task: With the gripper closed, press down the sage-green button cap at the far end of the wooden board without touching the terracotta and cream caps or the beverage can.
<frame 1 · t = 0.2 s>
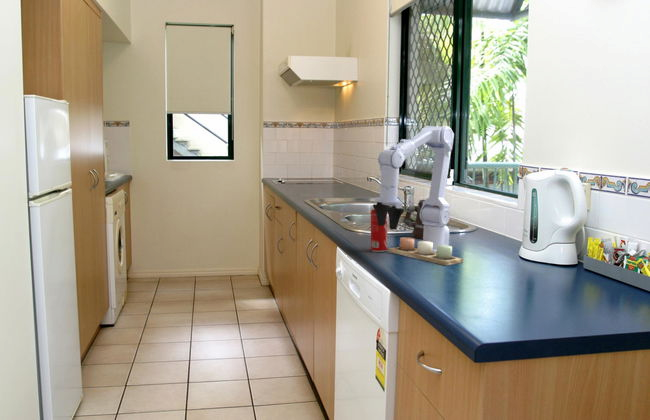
hand: (387, 227, 204), 10 cm above the worktop, fingers open, 7 cm apart
beverage can: (377, 251, 215), on the worktop
wooden board: (424, 256, 207), on the worktop
button cream: (425, 247, 207), point 3 cm above the worktop, slide at 0.0 cm
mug: (422, 237, 247), on the worktop
button terracotta: (407, 243, 213), point 3 cm above the worktop, slide at 0.0 cm
button sage: (444, 251, 201), point 3 cm above the worktop, slide at 0.0 cm
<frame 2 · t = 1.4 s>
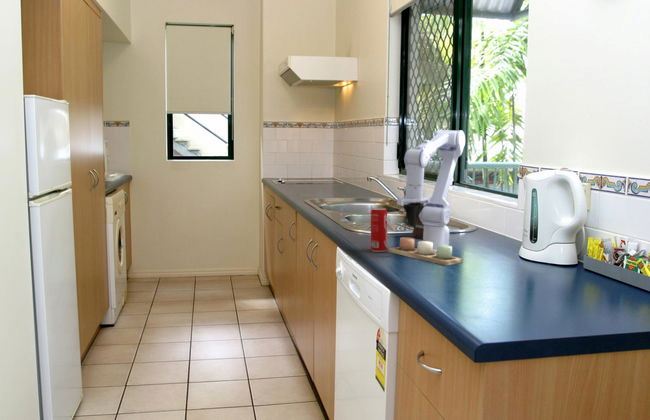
hand: (412, 225, 208), 10 cm above the worktop, fingers closed
nothing on the worktop moved.
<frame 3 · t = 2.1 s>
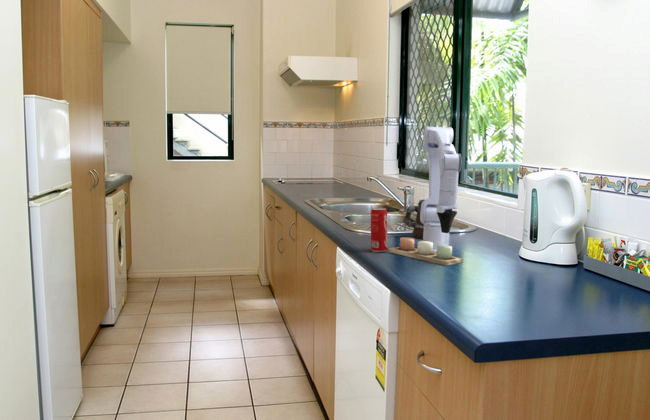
hand: (445, 232, 200), 10 cm above the worktop, fingers closed
nothing on the worktop moved.
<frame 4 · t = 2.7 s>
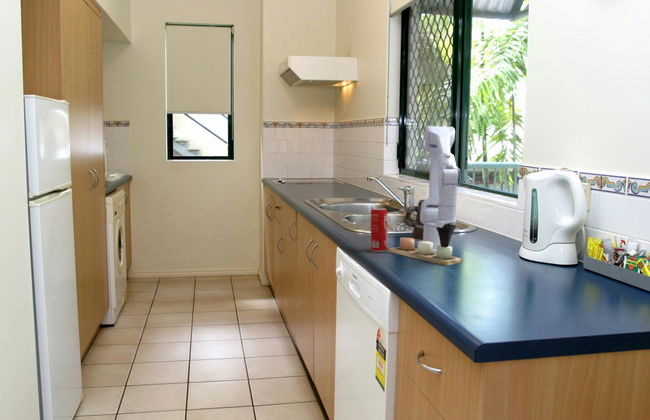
hand: (444, 246, 201), 5 cm above the worktop, fingers closed, pressing on button sage
button sage: (444, 252, 201), point 3 cm above the worktop, slide at 0.2 cm, touching gripper
everything else where it was.
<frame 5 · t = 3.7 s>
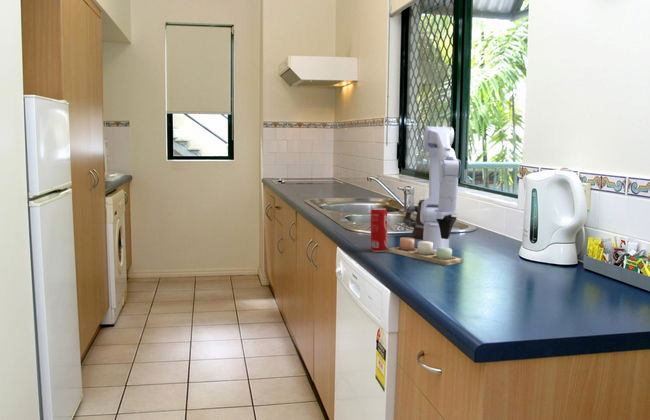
hand: (445, 238, 201), 8 cm above the worktop, fingers closed
button sage: (444, 254, 201), point 2 cm above the worktop, slide at 0.9 cm
everything else where it was.
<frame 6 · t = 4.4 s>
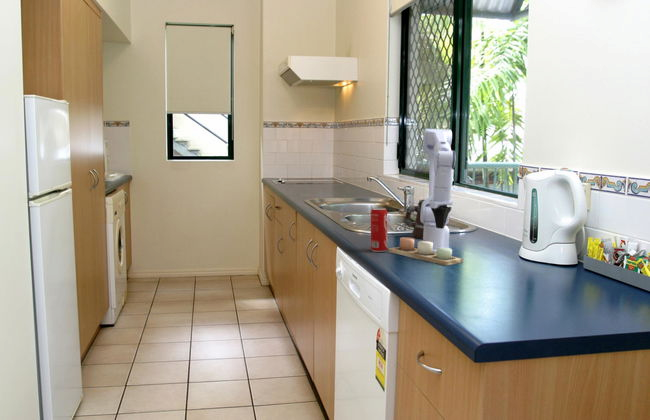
hand: (439, 228, 204), 10 cm above the worktop, fingers closed
nothing on the worktop moved.
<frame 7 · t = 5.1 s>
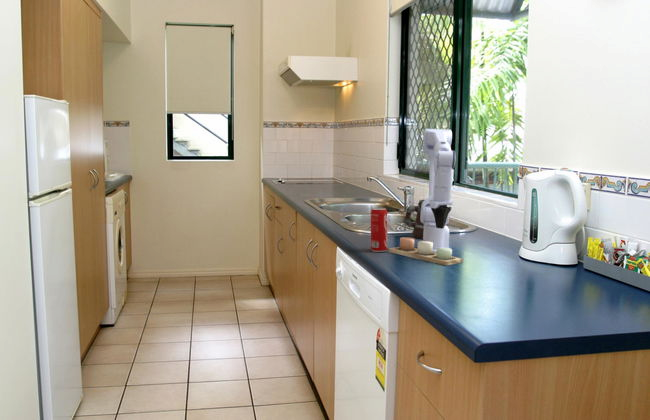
hand: (439, 228, 204), 10 cm above the worktop, fingers closed
nothing on the worktop moved.
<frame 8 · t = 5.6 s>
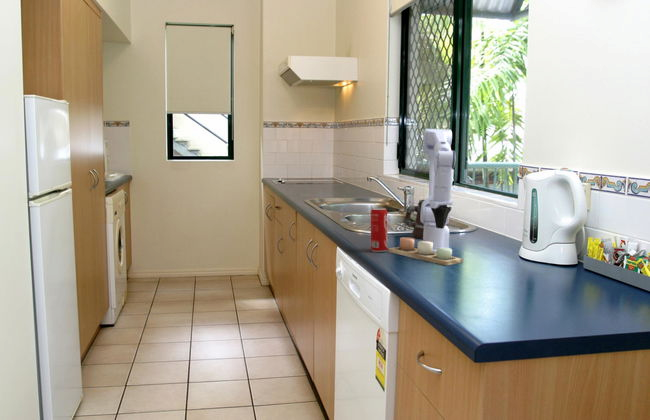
hand: (439, 228, 204), 10 cm above the worktop, fingers closed
nothing on the worktop moved.
at the end: button sage slide at 0.9 cm; button cream slide at 0.0 cm; button terracotta slide at 0.0 cm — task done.
